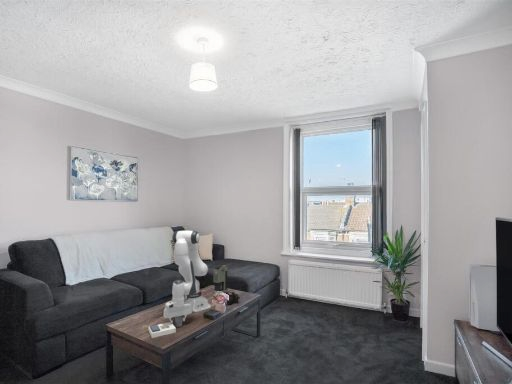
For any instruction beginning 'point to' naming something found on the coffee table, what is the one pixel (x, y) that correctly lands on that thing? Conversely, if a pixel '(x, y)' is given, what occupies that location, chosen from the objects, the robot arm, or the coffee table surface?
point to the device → (220, 278)
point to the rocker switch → (178, 321)
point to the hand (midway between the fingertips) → (177, 321)
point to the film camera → (232, 297)
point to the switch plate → (161, 329)
